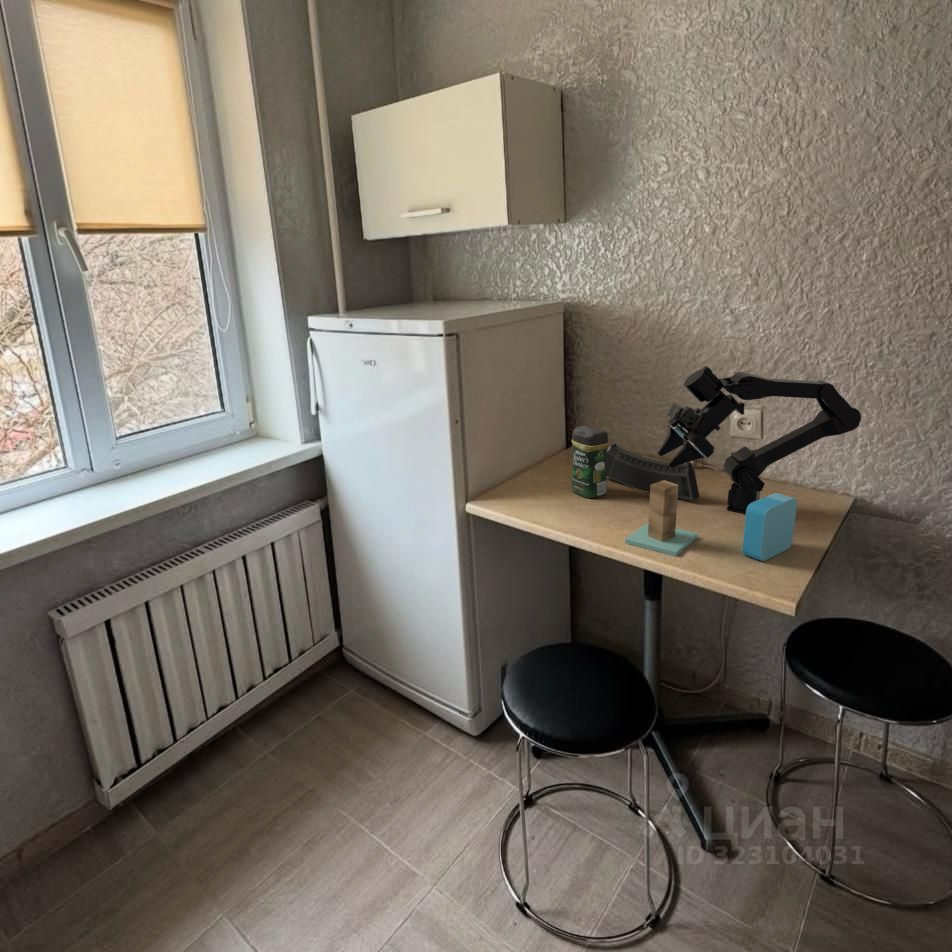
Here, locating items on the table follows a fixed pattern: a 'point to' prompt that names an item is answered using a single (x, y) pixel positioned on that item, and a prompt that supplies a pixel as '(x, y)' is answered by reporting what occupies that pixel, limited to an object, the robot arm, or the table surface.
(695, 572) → the table surface
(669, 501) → the walnut block
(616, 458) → the magazine
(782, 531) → the data package
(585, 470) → the coffee jar
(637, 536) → the teal board
